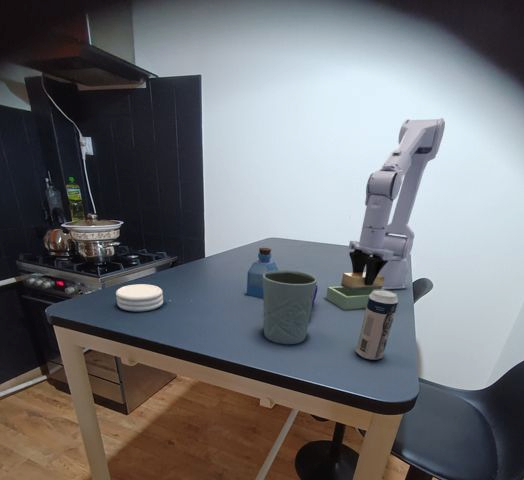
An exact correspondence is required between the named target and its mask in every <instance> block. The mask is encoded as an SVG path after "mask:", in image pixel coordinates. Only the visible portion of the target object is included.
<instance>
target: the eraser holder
mask: <svg viewBox="0 0 524 480" xmlns="http://www.w3.org/2000/svg"><path fill="white" fill-rule="evenodd" d="M373 290H377V289H372V290H356V291H350V290H348V289H346V288H344V287H342V286H341V285H340V286H327V291H326V297H325V299H326V300H327V301H329V302H331V303H332V304H334V305H336V306H337V307H339V308H340V309H342V310H343V311H346V310H357V309H359V310H360V309H366V308H367V303H368V299H369V295H370V294H371V293H372V292H373ZM378 290H384V289H378Z"/></svg>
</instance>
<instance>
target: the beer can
mask: <svg viewBox="0 0 524 480" xmlns="http://www.w3.org/2000/svg"><path fill="white" fill-rule="evenodd" d="M398 304H399V298H398V294H397V293H396V292H394V291H391V290H388V289H385V290H378V289H377V290H373V292H372V293H371V294H370V295H369V299H368V303H367V308H365V312H364V316H363V320H362V324H361V329H360V333H359V338H358V342H357V346H356V349H355V350H356V353H357V354H358V355H359V356H360V357H361V358H363V359H366V360H371V361H375V360H379V359H382V358H383V357H384V353H385V350H386V346H387V343H388V339H389V336H390V332H391V329H392V325H393V322H394V318H395V315H396V311H397V308H398Z"/></svg>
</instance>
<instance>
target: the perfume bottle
mask: <svg viewBox="0 0 524 480" xmlns="http://www.w3.org/2000/svg"><path fill="white" fill-rule="evenodd" d="M258 251H259V252H258V253H257V258H258V260H256V261H253V263H252V264H251V266H250V267H249V269H248V271H247V278H246V295H247V296H251V297H256V298H260V299H263V296H264V292H263V274H264V273H266V272H269V271H276V270H279V268H278V267H277V265H276V263H275V261H271V259H272V253H271V252H272V248H269V247H259V248H258Z"/></svg>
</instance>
